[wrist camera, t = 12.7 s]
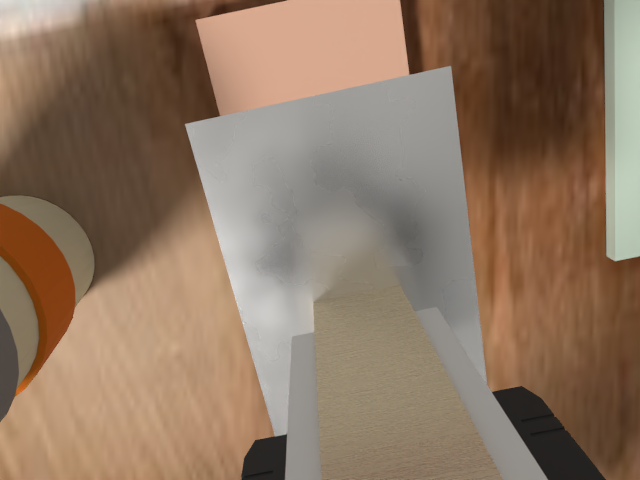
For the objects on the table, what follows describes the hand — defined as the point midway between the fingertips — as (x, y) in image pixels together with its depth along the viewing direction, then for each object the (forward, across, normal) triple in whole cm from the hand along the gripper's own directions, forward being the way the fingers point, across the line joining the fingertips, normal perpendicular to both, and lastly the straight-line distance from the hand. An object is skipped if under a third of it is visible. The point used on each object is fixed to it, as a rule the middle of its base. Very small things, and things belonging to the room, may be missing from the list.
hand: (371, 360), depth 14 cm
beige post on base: (+3, 0, 0) cm, 3 cm away
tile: (+18, 0, -2) cm, 18 cm away
